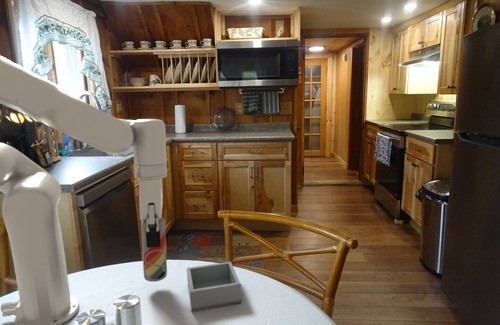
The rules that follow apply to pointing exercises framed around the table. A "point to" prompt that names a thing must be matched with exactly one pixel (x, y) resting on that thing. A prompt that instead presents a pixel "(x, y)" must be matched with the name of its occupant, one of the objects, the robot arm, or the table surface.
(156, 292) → the table surface
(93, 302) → the table surface
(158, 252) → the lotion bottle
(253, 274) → the table surface
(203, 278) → the box
